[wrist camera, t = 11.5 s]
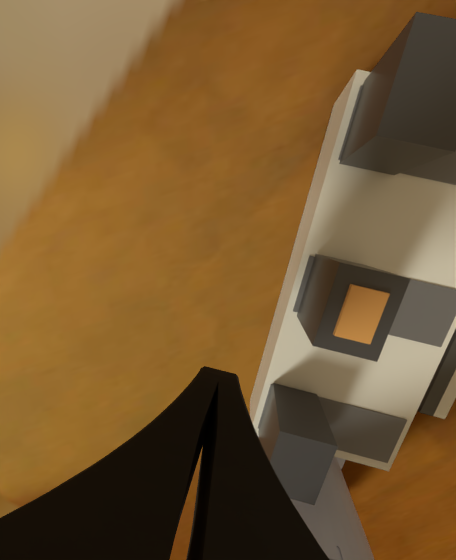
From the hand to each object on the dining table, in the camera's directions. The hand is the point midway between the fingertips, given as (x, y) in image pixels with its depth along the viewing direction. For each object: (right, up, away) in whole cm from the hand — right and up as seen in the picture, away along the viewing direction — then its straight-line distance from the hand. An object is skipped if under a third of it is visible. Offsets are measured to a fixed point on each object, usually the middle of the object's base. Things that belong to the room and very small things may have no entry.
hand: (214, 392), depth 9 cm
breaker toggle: (+7, +4, +6) cm, 9 cm away
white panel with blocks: (+10, +4, +9) cm, 14 cm away
